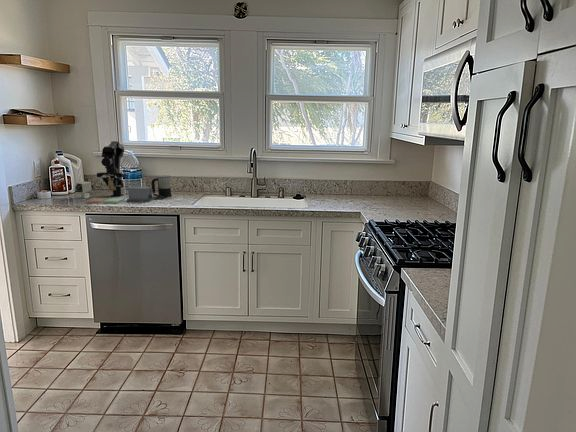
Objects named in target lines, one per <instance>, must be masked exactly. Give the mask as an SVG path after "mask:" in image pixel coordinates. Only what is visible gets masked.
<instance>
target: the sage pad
mask: <svg viewBox="0 0 576 432" xmlns="http://www.w3.org/2000/svg"><path fill="white" fill-rule="evenodd" d="M124 202H125V198H114V197H111V198H108V199H107V200H105V201H103V202H102V203H103V204H113V203H115V204H116V205H117V204H120V203H124ZM115 204H114V205H115Z"/></svg>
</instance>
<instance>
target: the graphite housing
mask: <svg viewBox="0 0 576 432" xmlns="http://www.w3.org/2000/svg"><path fill="white" fill-rule="evenodd" d="M127 191H128V192H127V193H128V198H127V202H152V201H154V200H155V197H153V192H152V186H130V187H127Z"/></svg>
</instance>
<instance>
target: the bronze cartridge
mask: <svg viewBox="0 0 576 432" xmlns="http://www.w3.org/2000/svg"><path fill="white" fill-rule="evenodd" d="M107 189H108V191H110V192H113V190H116V187H115V185H114V178H110V177H109V179H108V186H107Z"/></svg>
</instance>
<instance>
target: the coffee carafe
mask: <svg viewBox="0 0 576 432" xmlns="http://www.w3.org/2000/svg"><path fill="white" fill-rule="evenodd" d="M171 177H172V176H171V175H158V176H157V177H154V178H153V179H152V180H151V181H150V182H151V190H152V196H153V197H156V198H158V199H163V198H169V197H172V185H171V184H172V183H171ZM155 182H157V191H158V193H157V194H156V185H155Z"/></svg>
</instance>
